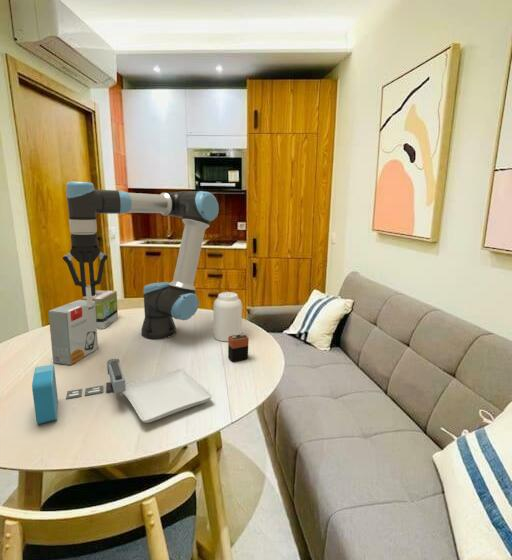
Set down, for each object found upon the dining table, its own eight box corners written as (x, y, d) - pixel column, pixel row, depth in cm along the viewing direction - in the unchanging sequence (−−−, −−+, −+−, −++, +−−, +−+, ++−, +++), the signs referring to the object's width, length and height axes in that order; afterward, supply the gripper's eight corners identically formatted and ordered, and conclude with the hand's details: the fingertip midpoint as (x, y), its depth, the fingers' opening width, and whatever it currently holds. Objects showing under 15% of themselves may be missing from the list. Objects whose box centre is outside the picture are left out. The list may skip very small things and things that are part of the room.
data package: (40, 402, 97) (35, 365, 95) (57, 399, 99) (53, 362, 97) (37, 427, 87) (31, 385, 84) (57, 422, 89) (52, 381, 87)
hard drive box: (70, 366, 119) (65, 313, 114) (52, 363, 120) (46, 310, 116) (99, 348, 134) (95, 300, 129) (82, 346, 135) (78, 299, 131)
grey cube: (123, 382, 109) (122, 369, 108) (123, 390, 105) (122, 376, 104) (106, 385, 108) (105, 371, 106) (106, 393, 103) (105, 379, 102)
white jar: (230, 344, 141) (231, 299, 137) (207, 337, 148) (207, 294, 143) (246, 335, 152) (247, 293, 147) (224, 329, 158) (225, 288, 153)
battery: (248, 359, 128) (249, 335, 126) (232, 362, 125) (232, 338, 123) (243, 354, 132) (244, 331, 130) (227, 358, 129) (228, 333, 127)
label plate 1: (82, 390, 104) (81, 388, 104) (81, 396, 101) (81, 395, 101) (67, 392, 103) (67, 391, 103) (66, 399, 99) (65, 398, 99)
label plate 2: (103, 386, 107) (103, 385, 107) (102, 393, 103) (102, 391, 103) (85, 389, 105) (85, 388, 105) (84, 396, 101) (84, 394, 101)
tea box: (105, 329, 153) (102, 298, 150) (83, 328, 153) (80, 297, 150) (118, 318, 168) (116, 290, 165) (98, 317, 168) (96, 289, 165)
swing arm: (107, 371, 106) (106, 357, 105) (119, 368, 107) (118, 354, 106) (113, 394, 93) (112, 378, 92) (126, 391, 95) (125, 375, 94)
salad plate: (181, 375, 116) (181, 366, 115) (213, 405, 99) (213, 394, 99) (118, 395, 103) (118, 385, 102) (143, 433, 87) (142, 421, 86)
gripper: (106, 232, 110) (111, 300, 115) (61, 232, 105) (68, 304, 110) (106, 234, 103) (111, 307, 108) (58, 234, 98) (65, 310, 103)
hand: (89, 305), depth 109 cm, fingers closed
